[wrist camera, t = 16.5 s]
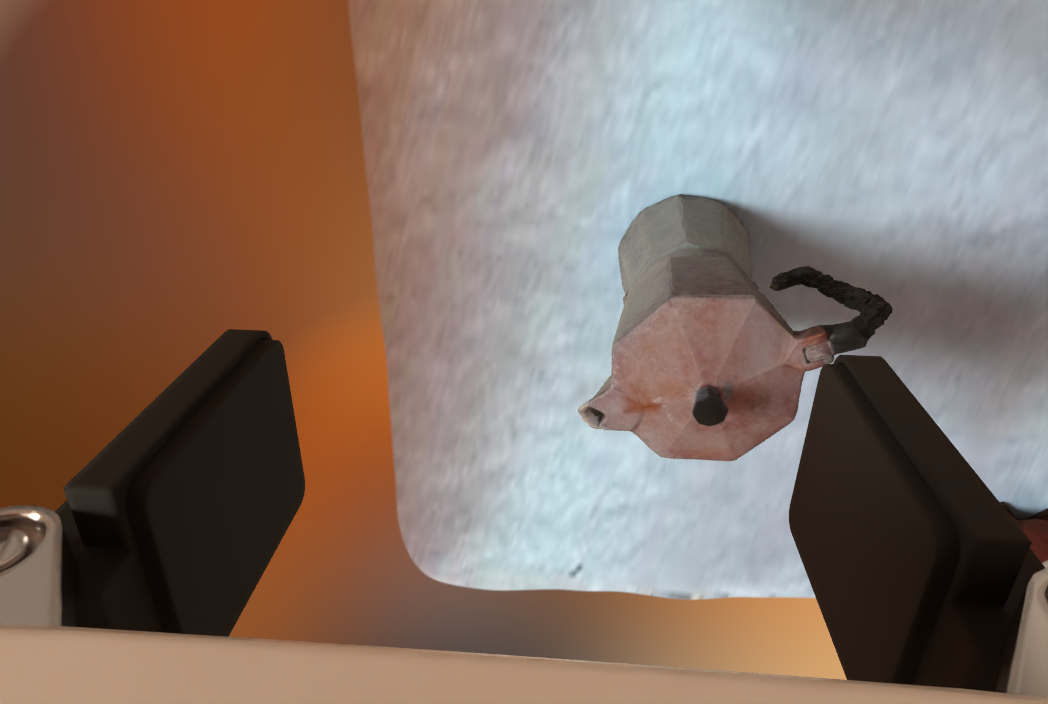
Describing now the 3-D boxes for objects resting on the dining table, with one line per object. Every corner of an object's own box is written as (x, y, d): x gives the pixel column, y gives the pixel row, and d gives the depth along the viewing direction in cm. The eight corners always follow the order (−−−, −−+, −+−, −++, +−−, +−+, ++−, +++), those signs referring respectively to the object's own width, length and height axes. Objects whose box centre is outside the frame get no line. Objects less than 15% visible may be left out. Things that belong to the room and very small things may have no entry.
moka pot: (553, 242, 49) (535, 386, 31) (770, 134, 45) (892, 230, 27) (613, 352, 53) (627, 538, 35) (820, 262, 48) (956, 421, 31)
